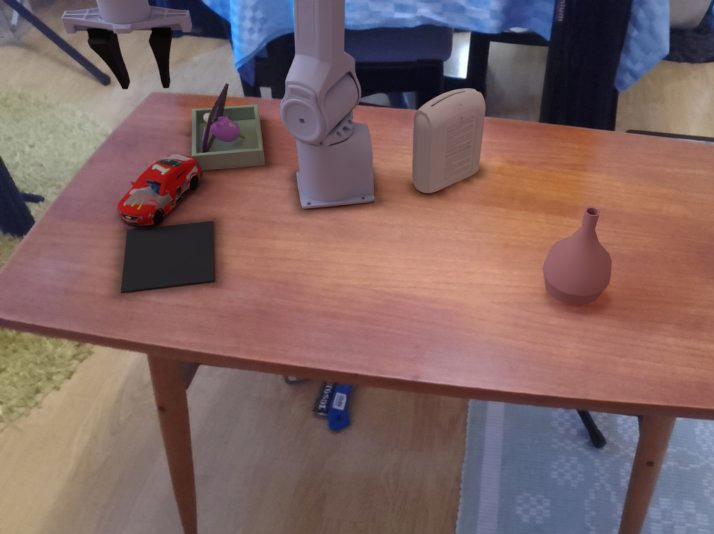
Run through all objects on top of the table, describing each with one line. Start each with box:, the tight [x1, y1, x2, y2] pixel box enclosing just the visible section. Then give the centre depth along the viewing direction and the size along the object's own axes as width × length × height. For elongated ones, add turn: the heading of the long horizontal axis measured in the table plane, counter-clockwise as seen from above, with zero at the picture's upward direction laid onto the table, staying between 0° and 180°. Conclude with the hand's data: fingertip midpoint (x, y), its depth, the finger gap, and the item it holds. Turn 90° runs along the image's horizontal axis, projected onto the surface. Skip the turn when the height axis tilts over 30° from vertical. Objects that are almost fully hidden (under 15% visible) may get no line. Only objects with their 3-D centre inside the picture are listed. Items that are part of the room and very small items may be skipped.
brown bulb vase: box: [542, 206, 613, 307], centre depth 75 cm, size 8×8×12 cm
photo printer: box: [411, 87, 487, 194], centre depth 89 cm, size 10×4×12 cm, turn 131°
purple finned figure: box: [202, 82, 245, 153], centre depth 94 cm, size 7×5×9 cm
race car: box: [116, 153, 203, 227], centre depth 86 cm, size 13×5×4 cm, turn 160°
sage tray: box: [191, 103, 266, 172], centre depth 96 cm, size 9×12×2 cm
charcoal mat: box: [120, 220, 215, 294], centre depth 80 cm, size 10×11×1 cm
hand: (146, 85), depth 90 cm, fingers open, 4 cm apart
